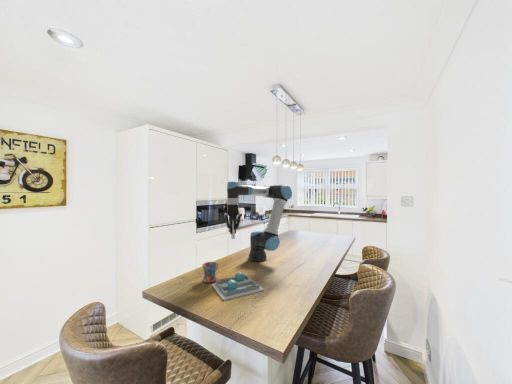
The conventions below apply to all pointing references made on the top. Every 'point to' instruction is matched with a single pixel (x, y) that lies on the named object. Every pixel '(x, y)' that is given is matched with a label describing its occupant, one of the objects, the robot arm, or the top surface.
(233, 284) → the tab
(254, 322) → the top surface
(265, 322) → the top surface
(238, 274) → the tab
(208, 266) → the mug
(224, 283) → the switch board
